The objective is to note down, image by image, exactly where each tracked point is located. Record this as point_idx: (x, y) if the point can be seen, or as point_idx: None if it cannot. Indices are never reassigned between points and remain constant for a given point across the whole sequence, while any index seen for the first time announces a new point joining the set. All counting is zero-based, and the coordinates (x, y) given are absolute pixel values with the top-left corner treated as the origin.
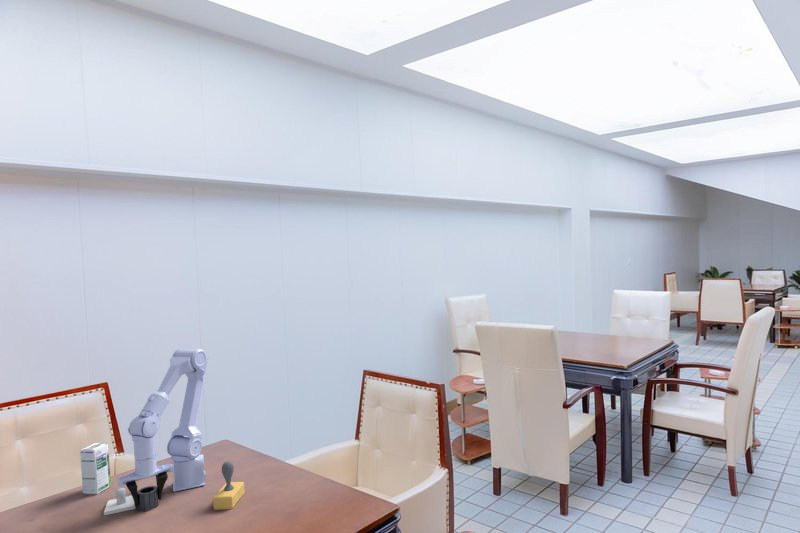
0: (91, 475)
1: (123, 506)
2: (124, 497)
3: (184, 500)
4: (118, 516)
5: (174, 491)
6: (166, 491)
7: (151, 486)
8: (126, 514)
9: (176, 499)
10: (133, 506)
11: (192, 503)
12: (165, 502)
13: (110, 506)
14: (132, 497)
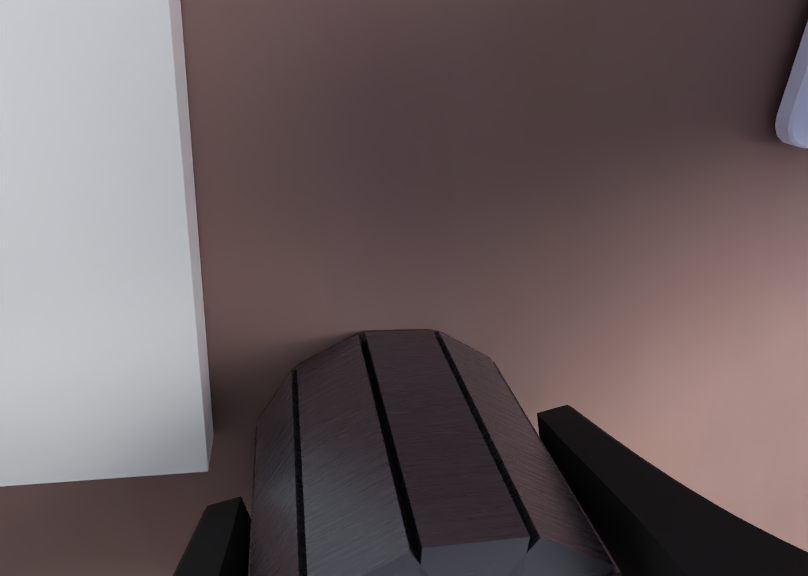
0: None
1: (2, 440)
2: None
3: (776, 451)
4: (12, 554)
5: (790, 143)
6: (696, 7)
7: (547, 573)
8: (119, 538)
9: (721, 390)
10: (185, 463)
11: (804, 540)
12: (596, 413)
13: None
14: (73, 95)
